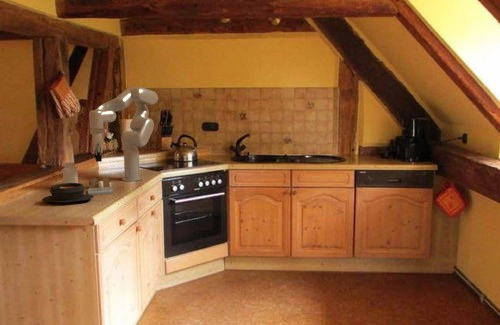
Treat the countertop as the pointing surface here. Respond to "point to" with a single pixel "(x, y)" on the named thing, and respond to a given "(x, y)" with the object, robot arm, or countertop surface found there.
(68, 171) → the pill bottle
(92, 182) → the wooden h-shaped stand
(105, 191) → the base
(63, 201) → the black low round piece
